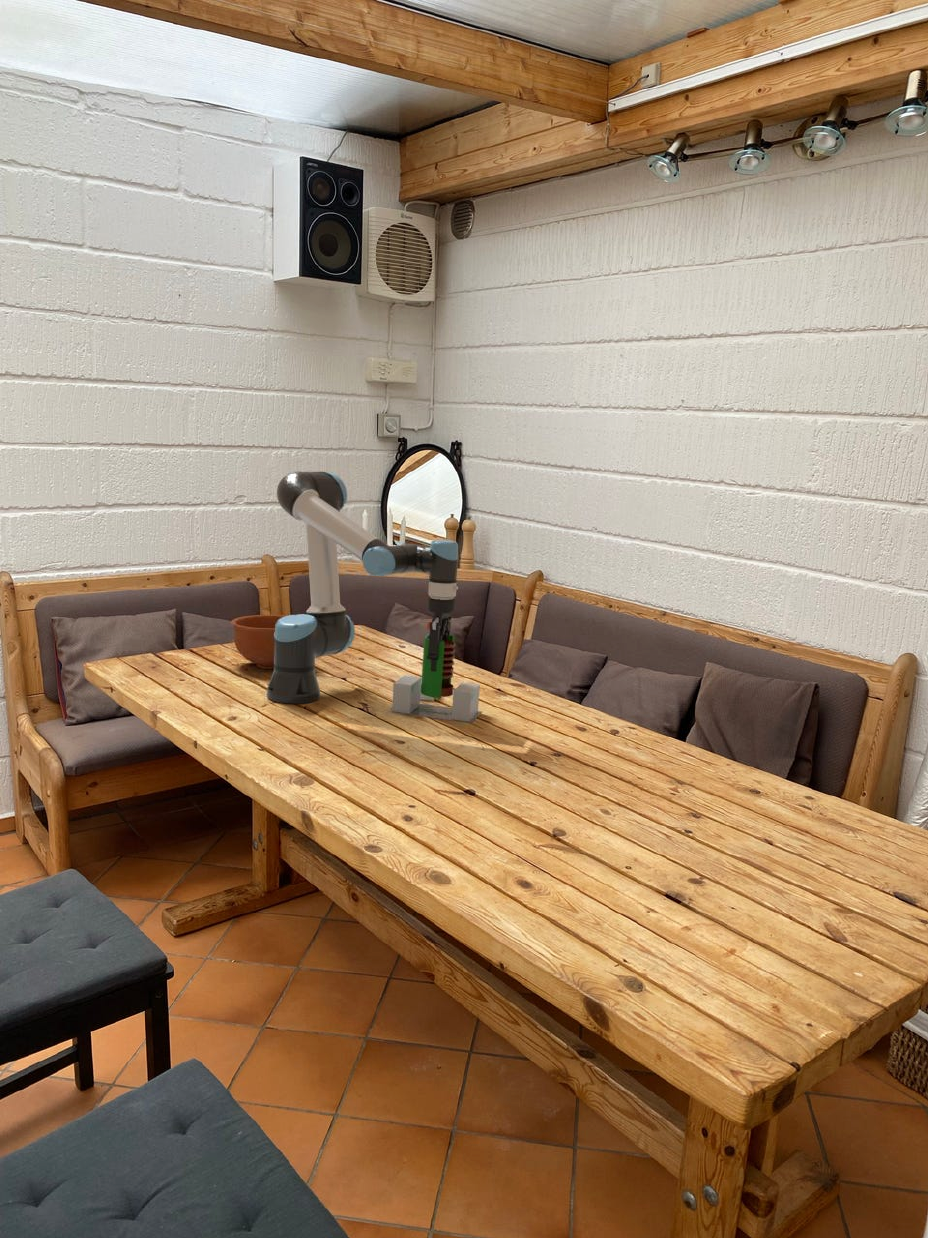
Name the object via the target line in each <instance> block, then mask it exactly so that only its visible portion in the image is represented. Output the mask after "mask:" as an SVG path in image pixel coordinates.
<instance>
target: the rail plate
mask: <svg viewBox="0 0 928 1238" xmlns="http://www.w3.org/2000/svg"><path fill="white" fill-rule="evenodd" d="M387 713H393V714H400V715H406V716H407V715H408V716H413V717H414V716H416V717H423V718H428V719H429V718H431V719H438V720H443V721H445V720H446V721H453V722H459V723H461V722H462V723H468V724H473V723H474V722H475V721H476V720H477V719H478V718H479V717H480V715H481V714H482V713H483V711H480V710H478V713H477V714H476V715H475V716H474V717H473V718H472V719H471V720H470V721H461V720H454V719H452V707H450V706H449V707H448V706H439V705H434V704H428V703H427V704H426V703H420V705H419V706H418V707H417V708H415V709H414V710H413V711H412V712H411V713H410V714H409V713H401V712H394V711H392V708H390V709H389V710H388V711H387Z"/></svg>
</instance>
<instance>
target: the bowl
mask: <svg viewBox="0 0 928 1238" xmlns="http://www.w3.org/2000/svg"><path fill="white" fill-rule="evenodd" d="M285 616H286V615H284V614H283V615H282V614H258V615H256V614H254V615H246V616H240V617H236V618H234V619H232V620H231V621H230V624H231V626H232V627H233V630H234V631H233V634H234V637H233V641H234V644H235V645H234V646H235V648H236V650H237V652H238V653H239V654H240V655H241V656H242V657H243V658H244V659H245V660H247V661H249V662H251V663H254V664H256V667H257V668H260V669H266V670H267V669H268V670H269V669H271V670H274V633H275V625H276V622H277V621H278V620H279V619H281V618H283V617H285Z"/></svg>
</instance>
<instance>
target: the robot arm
mask: <svg viewBox="0 0 928 1238" xmlns="http://www.w3.org/2000/svg"><path fill="white" fill-rule="evenodd" d="M276 496H277V497H276V498H277V501H278V503H279V505H280V507H281V508H282V510H283V511H285V512H286V513H287V514H288V515H290V516H291V517H292V518H294V519H295V520H297V521H303V522H304V524H305V525H306V526H305V527H306V541H307V542H306V543H307V557H308V558H307V559H308V573H309V575H308V576H309V590H310V591H309V592H310V606H309V608H307V610H306V614H304V613H302V614H301V613H299V614H290V615H285V617H283V618H281V619H279V620H278V621H277V622H276V625H275V633H274V669H273V672H272V675H271V678H270V680H269V683H268V686H267V689H266V698H267V699H268V700H270V701H272V702H276V703H282V704H293V705H295V704H307V703H313V702H316V701H319V699H320V697H321V689H320V685H319V681H318V678H317V674H316V672H315V670H316V659H317V658H321V657H325V656H329V655H331V656H333V655H337V654H339V653H342V652H344V651H346V650H348V649H349V648H350V647H351V645H352V644H353V641H354V640H355V634H356V633H355V625H354V622H353V621H352V620H351V619H352V618H351V617H350V616H349V615H347V613H346V612H347V609H346V608H345V607H344V606H343V605H342V604H341V598H340V597H341V596H340V595H341V594H340V579H339V577H340V575H339V562H338V559H339V558H338V545H339V546H340V547H342V548H343V549H344V550H346V551H347V552H348V553H350V554H351V555H353V556H354V557H355V558H357V559H358V560H360V561H361V562H362V565H363V568H364V569H365V572H366V573H367V574H368V575H370V576H373V577H374V576H375V577H376V576H377V577H385V576H389V575H397V574H405V573H424V574H428V575H429V579H428V580H429V581H428V591H427V594H428V596H429V598H428V599H427V610H428V612H431V613H434V614H433V618H431V619H432V620H431V621H432V622H430V630H429V634H428V635H429V647H428V656H427V659H431V671H434V672H436V660H438V659H439V657H438V646H439V641H442V640H444V642H445V643H447V641H448V635H451V626H452V615H449V614H453V613H454V612H455V611H456V604H457V603H456V602H457V600H456V596H457V590H458V589H459V586H458V585H457V581H458V579H457V577H458V565H459V564H458V563H459V559H460V558H459V543H458V542H456V541H455V540H449V539H433V540H431V543H430V545H422V544H416V543H413V542H399V543H397V544H396V545H388V544H387V543H385V542H383V540H381V539H379V538H378V537H377V536H375V535H373V534H372V533H371V532H370V531H368V530H367V529H365V528H363V527H362V526H360V524H358V523H357V522H355V521H354V520H353V519H351V518H349V517H348V516H346V515H345V514H343V513H342V512H341V510H342V509H343V508H344V507H345V504H347V500H348V491H347V487H346V485H345V483H344V481H343V480H342V479H341V478H340V476H338V475H337V474H335V473H333V472H327V471H292V472H289V473H287V474H286V475H284V476H283V477H282V479H280V481H279V482H278V485H277V487H276Z"/></svg>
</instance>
